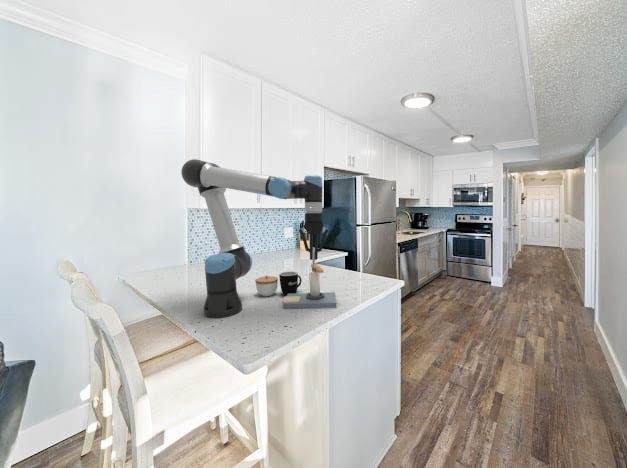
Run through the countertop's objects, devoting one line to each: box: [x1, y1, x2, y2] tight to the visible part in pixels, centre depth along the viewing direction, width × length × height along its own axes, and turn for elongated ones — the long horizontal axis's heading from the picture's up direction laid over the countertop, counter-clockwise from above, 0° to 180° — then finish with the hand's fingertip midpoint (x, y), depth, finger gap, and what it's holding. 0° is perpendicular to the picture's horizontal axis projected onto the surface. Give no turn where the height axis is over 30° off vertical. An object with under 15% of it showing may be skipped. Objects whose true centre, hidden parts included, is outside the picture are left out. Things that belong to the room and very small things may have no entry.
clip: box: [310, 263, 324, 274], centre depth 119 cm, size 14×3×1 cm, turn 12°
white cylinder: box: [308, 271, 321, 297], centre depth 121 cm, size 4×4×11 cm
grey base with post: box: [282, 267, 337, 310], centre depth 120 cm, size 22×14×14 cm, turn 87°
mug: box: [278, 271, 302, 297], centre depth 134 cm, size 12×9×10 cm
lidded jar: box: [255, 274, 279, 297], centre depth 134 cm, size 11×11×9 cm
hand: (313, 267), depth 119 cm, fingers closed
